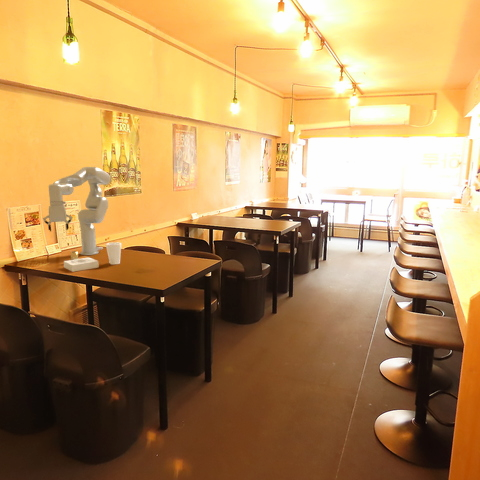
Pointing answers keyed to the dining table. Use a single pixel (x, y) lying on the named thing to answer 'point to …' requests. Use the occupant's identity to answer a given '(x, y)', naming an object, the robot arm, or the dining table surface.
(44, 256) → the dining table surface
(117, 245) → the foam cup
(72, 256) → the brass sleeve
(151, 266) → the dining table surface
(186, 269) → the dining table surface
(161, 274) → the dining table surface
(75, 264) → the plate
